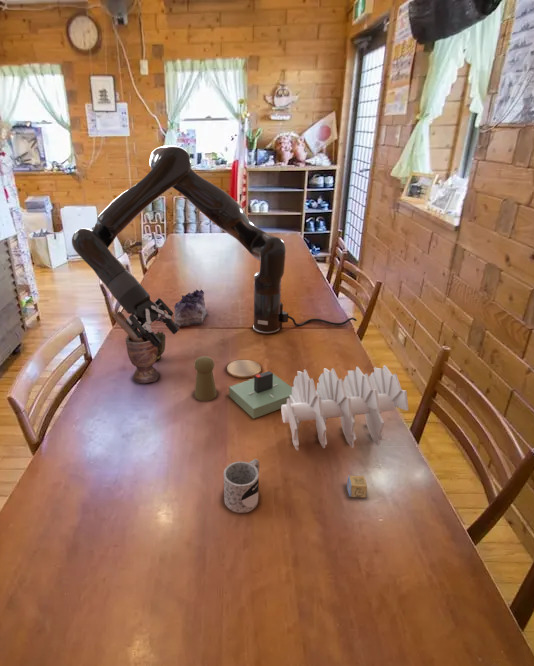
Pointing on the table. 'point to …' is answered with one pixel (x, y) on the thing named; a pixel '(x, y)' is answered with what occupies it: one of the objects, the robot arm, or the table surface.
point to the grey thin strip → (241, 486)
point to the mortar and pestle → (139, 353)
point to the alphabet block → (356, 486)
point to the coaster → (243, 368)
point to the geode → (190, 309)
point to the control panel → (260, 397)
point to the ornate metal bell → (161, 346)
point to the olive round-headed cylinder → (205, 379)
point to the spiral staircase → (344, 401)
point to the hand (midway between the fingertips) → (168, 338)
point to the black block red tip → (263, 381)
